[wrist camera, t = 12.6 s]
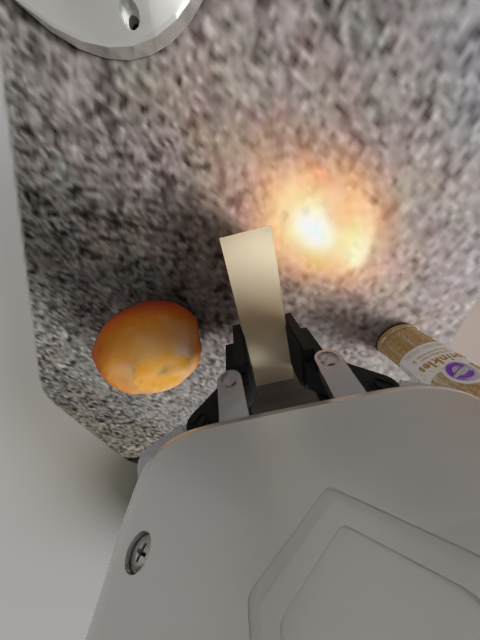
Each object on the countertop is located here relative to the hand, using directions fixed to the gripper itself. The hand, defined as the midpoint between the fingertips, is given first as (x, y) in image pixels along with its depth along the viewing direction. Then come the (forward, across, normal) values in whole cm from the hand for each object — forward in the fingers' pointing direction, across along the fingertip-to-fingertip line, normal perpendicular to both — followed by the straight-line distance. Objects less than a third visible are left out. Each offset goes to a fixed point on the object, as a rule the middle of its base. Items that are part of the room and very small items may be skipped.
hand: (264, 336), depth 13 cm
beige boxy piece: (+3, 0, -2) cm, 3 cm away
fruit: (+6, +9, 0) cm, 11 cm away
